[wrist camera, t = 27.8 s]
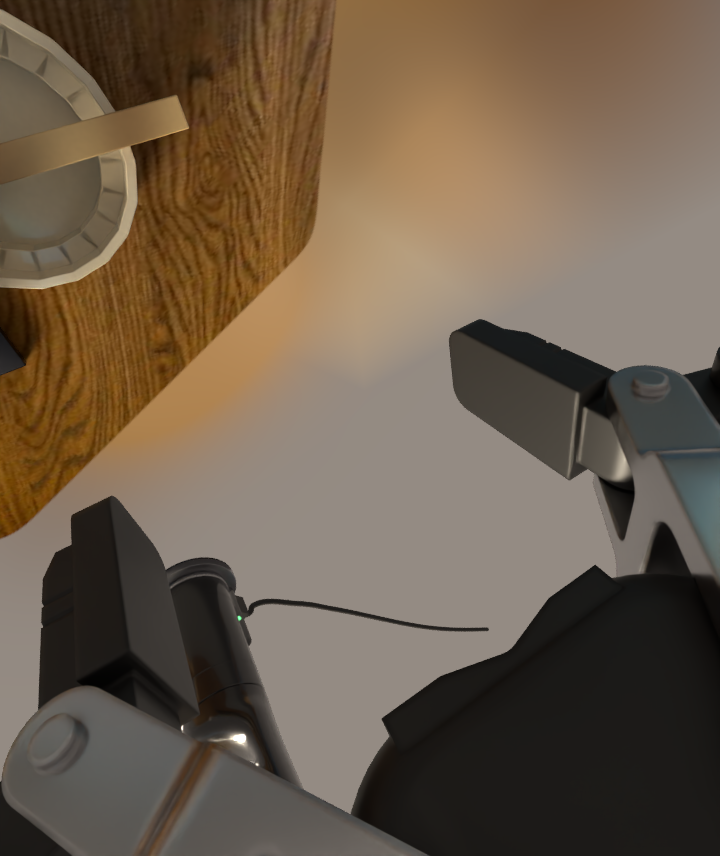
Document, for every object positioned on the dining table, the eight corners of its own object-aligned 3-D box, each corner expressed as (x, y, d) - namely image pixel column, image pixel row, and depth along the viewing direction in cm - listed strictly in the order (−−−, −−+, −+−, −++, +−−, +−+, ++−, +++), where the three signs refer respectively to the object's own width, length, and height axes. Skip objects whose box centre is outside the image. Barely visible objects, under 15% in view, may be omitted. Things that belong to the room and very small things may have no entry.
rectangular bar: (171, 95, 33) (177, 94, 32) (184, 128, 35) (189, 128, 33) (-226, 205, 27) (-243, 210, 26) (-194, 240, 28) (-208, 246, 27)
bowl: (169, 158, 40) (182, 162, 36) (56, 309, 41) (55, 331, 37) (-63, -59, 29) (-85, -92, 25) (-207, 156, 30) (-252, 161, 26)
